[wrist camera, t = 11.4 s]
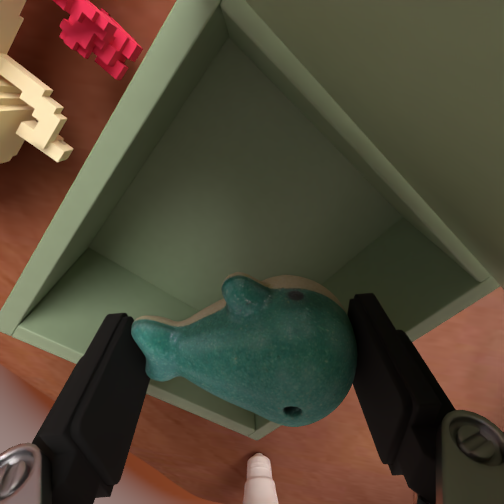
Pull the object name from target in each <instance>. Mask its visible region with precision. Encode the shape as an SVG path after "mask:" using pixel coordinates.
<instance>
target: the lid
mask: <svg viewBox="0 0 504 504" xmlns="http://www.w3.org/2000/svg"><path fill="white" fill-rule="evenodd" d="M245 1H246V2H247V3H248V4H249V6H250V7H251V8H252V9H253V10H254V11H255V12H256V13H257V15H258V16H259V17H260V18H261V19H262V20H263V21H264V22H265V23H266V25H267V26H268V27H269V28H270V29H271V30H272V31H273V32H274V34H275V35H276V36H277V37H278V38H279V39H280V40H281V41H282V42H283V44H284V45H285V46H286V47H287V48H288V49H289V50H290V51H291V53H292V54H293V55H294V56H295V57H296V58H297V59H298V60H299V61H300V63H301V64H302V65H303V66H304V67H305V68H306V69H307V70H308V72H309V73H310V74H311V75H312V76H313V77H314V78H315V79H316V80H317V82H318V83H319V84H320V85H321V86H322V87H323V88H324V89H325V90H326V92H327V93H328V94H329V95H330V96H331V97H332V98H333V99H334V101H335V102H336V103H337V104H338V105H339V106H340V107H341V108H342V109H343V111H344V112H345V113H346V114H347V115H348V116H349V117H350V118H351V120H352V121H353V122H354V123H355V124H356V125H357V126H358V127H359V128H360V130H361V131H362V132H363V133H364V134H365V135H366V136H367V137H368V139H369V140H370V141H371V142H372V143H373V144H374V145H375V146H376V147H377V149H378V150H379V151H380V152H381V153H382V154H383V155H384V156H385V158H386V159H387V160H388V161H389V162H390V163H391V164H392V165H393V166H394V168H395V169H396V170H397V171H398V172H399V173H400V174H401V175H402V177H403V178H404V179H405V180H406V181H407V182H408V183H409V184H410V185H411V187H412V188H413V189H414V190H415V191H416V192H417V193H418V194H419V195H420V197H421V198H422V199H423V200H424V201H425V202H426V203H427V204H428V206H429V207H430V208H431V209H432V210H433V211H434V212H435V213H436V214H437V216H438V217H439V218H440V219H441V220H442V221H443V222H444V223H445V225H446V226H447V227H448V228H449V229H450V230H451V231H452V232H453V233H454V235H455V236H456V237H457V238H458V239H459V240H460V241H461V242H462V244H463V245H464V246H465V247H466V248H467V249H468V250H469V251H470V252H471V254H472V255H473V256H474V257H475V258H476V259H477V260H478V261H479V263H480V264H481V265H482V266H483V267H484V268H485V269H486V270H487V271H488V273H489V274H490V275H491V276H492V277H493V278H494V279H495V280H496V282H497V283H498V284H499V285H500V286H501V287H502V288H503V289H504V0H245Z"/></svg>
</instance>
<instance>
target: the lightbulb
mask: <svg viewBox="0 0 504 504" xmlns="http://www.w3.org/2000/svg"><path fill="white" fill-rule="evenodd" d="M243 504H279V503H278V499H277V495H276V489H275V483H274V481H273V480H272V472H271V464H270V460H269V458H268V457H266V456H263V454H262V453H256V454H254V456H253V457H251V458H249V460H248V462H247V481H246V483H245V487H244V499H243Z"/></svg>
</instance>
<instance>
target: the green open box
mask: <svg viewBox="0 0 504 504" xmlns="http://www.w3.org/2000/svg"><path fill="white" fill-rule="evenodd" d="M236 272H242V273H245V274H248V275H250V276H252V277H253V278H255V279H257V280H259V281H263V280H265V279H268V278H271V277H275V276H280V275H294V276H299V277H303V278H307V279H310V280H312V281H315V282H317V283H319V284H320V285H322V286H324V287H325V288H326V289H328V290H329V291H330V292H331V293H332V294H333V295H334V296H335V297H336V298H337V299H338V300H339V301H340V303H341V304H342V306H343V307H344V309H345V311H346V313H347V314H348V307H349V300H350V299H354V296H355V294H364V293H373V294H374V295H375V296H376V298H377V299H378V301H379V303H380V304H381V306H382V308H383V309H384V311H385V312H386V314H387V316H388V317H389V319H390V321H391V322H392V324H393V325H394V327H395V329H396V330H403V331H404V332H405V333H406V334H407V335H408V337H409V339H410V340H411V342H413V341H415V340H416V339H418V338H420V337H421V336H423V335H424V334H426V333H427V332H429V331H431V330H432V329H434V328H435V327H437V326H438V325H440V324H442V323H443V322H445V321H446V320H448V319H450V318H451V317H453V316H454V315H456V314H457V313H459V312H461V311H462V310H464V309H465V308H467V307H468V306H470V305H472V304H473V303H475V302H476V301H478V300H479V299H481V298H483V297H484V296H486V295H487V294H489V293H490V292H492V291H494V290H495V289H497V288H498V287H500V285H499V284H498V283H497V282H496V280H495V279H494V278H493V277H492V276H491V275H490V274H489V273H488V271H487V270H486V269H485V268H484V267H483V266H482V265H481V264H480V263H479V261H478V260H477V259H476V258H475V257H474V256H473V255H472V254H471V252H470V251H469V250H468V249H467V248H466V247H465V246H464V245H463V244H462V242H461V241H460V240H459V239H458V238H457V237H456V236H455V235H454V233H453V232H452V231H451V230H450V229H449V228H448V227H447V226H446V225H445V223H444V222H443V221H442V220H441V219H440V218H439V217H438V216H437V214H436V213H435V212H434V211H433V210H432V209H431V208H430V207H429V206H428V204H427V203H426V202H425V201H424V200H423V199H422V198H421V197H420V195H419V194H418V193H417V192H416V191H415V190H414V189H413V188H412V187H411V185H410V184H409V183H408V182H407V181H406V180H405V179H404V178H403V177H402V175H401V174H400V173H399V172H398V171H397V170H396V169H395V168H394V166H393V165H392V164H391V163H390V162H389V161H388V160H387V159H386V158H385V156H384V155H383V154H382V153H381V152H380V151H379V150H378V149H377V147H376V146H375V145H374V144H373V143H372V142H371V141H370V140H369V139H368V137H367V136H366V135H365V134H364V133H363V132H362V131H361V130H360V128H359V127H358V126H357V125H356V124H355V123H354V122H353V121H352V120H351V118H350V117H349V116H348V115H347V114H346V113H345V112H344V111H343V109H342V108H341V107H340V106H339V105H338V104H337V103H336V102H335V101H334V99H333V98H332V97H331V96H330V95H329V94H328V93H327V92H326V90H325V89H324V88H323V87H322V86H321V85H320V84H319V83H318V82H317V80H316V79H315V78H314V77H313V76H312V75H311V74H310V73H309V72H308V70H307V69H306V68H305V67H304V66H303V65H302V64H301V63H300V61H299V60H298V59H297V58H296V57H295V56H294V55H293V54H292V53H291V51H290V50H289V49H288V48H287V47H286V46H285V45H284V44H283V42H282V41H281V40H280V39H279V38H278V37H277V36H276V35H275V34H274V32H273V31H272V30H271V29H270V28H269V27H268V26H267V25H266V23H265V22H264V21H263V20H262V19H261V18H260V17H259V16H258V15H257V13H256V12H255V11H254V10H253V9H252V8H251V7H250V6H249V4H248V3H247V2H246V1H245V0H177V1H176V3H175V4H174V6H173V8H172V10H171V11H170V13H169V15H168V17H167V18H166V20H165V22H164V24H163V26H162V27H161V29H160V31H159V33H158V34H157V36H156V38H155V40H154V41H153V43H152V45H151V47H150V48H149V50H148V52H147V54H146V55H145V57H144V59H143V61H142V63H141V64H140V66H139V68H138V70H137V71H136V73H135V75H134V77H133V78H132V80H131V82H130V84H129V85H128V87H127V89H126V91H125V92H124V94H123V96H122V98H121V100H120V101H119V103H118V105H117V107H116V108H115V110H114V112H113V114H112V115H111V117H110V119H109V121H108V122H107V124H106V126H105V128H104V129H103V131H102V133H101V135H100V137H99V138H98V140H97V142H96V144H95V145H94V147H93V149H92V151H91V152H90V154H89V156H88V158H87V159H86V161H85V163H84V165H83V166H82V168H81V170H80V172H79V173H78V175H77V177H76V179H75V181H74V182H73V184H72V186H71V188H70V189H69V191H68V193H67V195H66V196H65V198H64V200H63V202H62V203H61V205H60V207H59V209H58V210H57V212H56V214H55V216H54V218H53V219H52V221H51V223H50V225H49V226H48V228H47V230H46V232H45V233H44V235H43V237H42V239H41V240H40V242H39V244H38V246H37V247H36V249H35V251H34V253H33V255H32V256H31V258H30V260H29V262H28V263H27V265H26V267H25V269H24V270H23V272H22V274H21V276H20V277H19V279H18V281H17V283H16V284H15V286H14V288H13V290H12V291H11V293H10V295H9V297H8V299H7V300H6V302H5V304H4V306H3V307H2V309H1V311H0V332H2V333H5V334H7V335H9V336H11V335H12V337H14V338H16V339H19V340H21V341H23V342H26V343H28V344H30V345H33V346H35V347H38V348H40V349H42V350H45V351H47V352H49V353H52V354H54V355H56V356H59V357H61V358H63V359H66V360H68V361H71V362H73V363H75V364H77V363H78V361H79V360H80V358H81V357H82V356H84V354H85V352H86V351H87V349H88V347H89V345H90V343H91V342H92V340H93V338H94V336H95V334H96V333H97V331H98V329H99V327H100V326H101V324H102V322H103V320H104V318H105V317H106V316H107V315H108V314H113V313H126V314H127V315H128V316H131V317H133V319H134V321H135V320H136V319H137V318H139V317H141V316H160V317H164V318H167V319H170V320H173V321H183V320H186V319H188V318H190V317H191V316H193V315H194V314H196V313H198V312H199V311H201V310H203V309H204V308H206V307H208V306H210V305H211V304H213V303H215V302H217V301H219V300H221V299H223V298H224V297H223V295H222V290H221V287H222V284H223V282H224V280H225V279H226V277H227V276H228V275H230V274H233V273H236ZM146 394H148V395H151V396H153V397H155V398H158V399H160V400H162V401H165V402H167V403H169V404H172V405H174V406H177V407H179V408H181V409H184V410H186V411H188V412H191V413H193V414H195V415H198V416H200V417H202V418H205V419H207V420H210V421H212V422H214V423H217V424H219V425H221V426H224V427H226V428H228V429H231V430H233V431H235V432H238V433H240V434H243V435H245V436H248V437H250V438H252V439H254V440H259V439H261V438H262V437H264V436H265V435H267V434H269V433H270V432H272V431H273V430H275V429H276V428H278V427H280V426H281V425H280V424H277V423H274V422H272V421H269V420H267V419H265V418H263V417H261V416H259V415H257V414H255V413H253V412H250V411H248V410H246V409H243V408H241V407H239V406H236V405H234V404H232V403H229V402H227V401H225V400H223V399H221V398H219V397H217V396H215V395H213V394H211V393H209V392H207V391H206V390H204V389H202V388H200V387H199V386H197V385H195V384H194V383H192V382H190V381H189V380H187V379H186V378H184V377H181V376H178V377H175V378H173V379H171V380H168V381H163V382H161V381H155V380H152V379H151V378H150V382H149V385H148V388H147V392H146Z"/></svg>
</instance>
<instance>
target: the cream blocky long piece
mask: <svg viewBox="0 0 504 504" xmlns="http://www.w3.org/2000/svg"><path fill="white" fill-rule="evenodd" d="M53 1H54V2H55V3H56V4H57V5H58V6H60V7H61V8H62V9H63V10H64V11H66V12H68V13H69V14H70V17H69V19H68V20H66V19H64V18H63V20H62V22H61V24H60V26H59V27H60V28H61V29H62V32H61V34H60V36H59V37H60V38H62V39H63V40H64V43H65V44H66V45H67V46H69V47H70V48H71V49H72V50H75V51H77V52H78V53H79V54H80V55H82V56H83V57H84V58H86V59H88V58H89V56H90V54H91V53H92V52H93V53H94V54H95V55H97V57H96V59H95V62H96V63H97V64H98V65H100V66H101V67H102V68H103V69H104V70H105V71H107V72H108V73H109V74H110V75H111V76H113V77H114V78H115V79H116V80H121V79H122V78H123V76H124V75H125V73H126V71H127V70H128V68H129V67H127V66H126V65H125V64H124V62H125V61H126V59H127V58H128V59H129V60H131V61H134V62H135V61H136V59H137V58H138V56H139V55H140V53H141V51H142V50H143V48H141V47H140V46H139V45H138V43H137V42H136V41H135V40H134V39H133V38H132V37H131V36H130V35H129V34H128V33H127V32H126V31H125V30H124V29H123V28H122V27H121V26H120V25H119V24H118V23H117V22H116V21H115V20H114V19H112V18H111V17H110V15H109V14H108V13H107V12H106V11H105V10H104V9H102V8H101V10H99V9H98V8H97V7H96V6H95V5H93V4H92V3H91V2H90V1H88V0H53ZM25 3H26V0H0V164H1V163H5V162H8V161H10V160H11V158H12V156H15V155H17V153H18V152H19V150H20V148H21V146H22V144H23V142H24V141H25V140H26V141H27V142H29V143H30V144H32V145H33V146H35V147H36V148H38V149H39V150H40V151H42V152H43V153H45V154H46V155H48V156H49V157H51V158H52V159H54V160H55V161H56V162H60V161H63V160H66V159H68V157H69V156H70V154H71V152H72V151H73V148H72V147H71V146H69V145H68V144H67V143H65V142H64V141H63V140H64V138H62V137H61V136H60V135H58V134H59V132H60V131H61V129H62V127H63V125H64V124H65V122H66V120H67V118H66V117H65V116H63V115H62V114H61V112H62V110H63V108H64V107H63V106H61V105H60V104H59V103H58V102H56V101H55V100H54V99H52V98H51V97H50V95H51V93H52V92H53V90H52V89H51V88H49V87H48V86H47V85H46V84H44V83H43V82H42V81H40V80H39V79H38V78H37V77H35V76H34V75H33V74H31V73H30V72H29V71H28V70H26V69H25V68H24V67H22V66H21V65H20V64H18V63H17V62H16V61H15V60H13V59H12V58H11V57H9V56H8V55H7V53H8V51H9V49H10V47H11V45H12V43H13V41H14V38H15V36H16V34H17V32H18V30H19V28H20V26H21V24H22V22H23V20H24V18H23V17H21V16H20V13H21V11H22V9H23V7H24V5H25ZM36 120H37V121H38V123H37V122H36Z"/></svg>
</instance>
